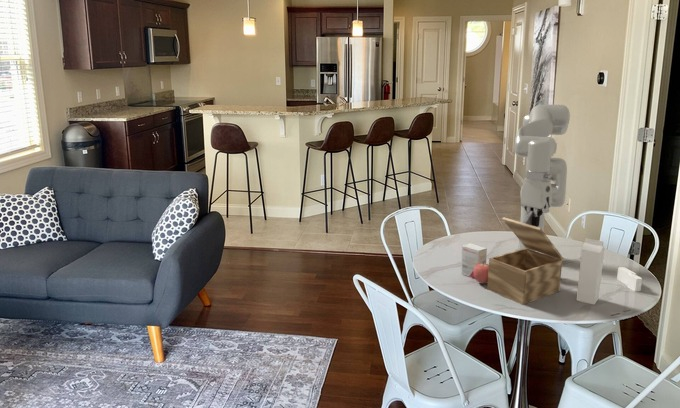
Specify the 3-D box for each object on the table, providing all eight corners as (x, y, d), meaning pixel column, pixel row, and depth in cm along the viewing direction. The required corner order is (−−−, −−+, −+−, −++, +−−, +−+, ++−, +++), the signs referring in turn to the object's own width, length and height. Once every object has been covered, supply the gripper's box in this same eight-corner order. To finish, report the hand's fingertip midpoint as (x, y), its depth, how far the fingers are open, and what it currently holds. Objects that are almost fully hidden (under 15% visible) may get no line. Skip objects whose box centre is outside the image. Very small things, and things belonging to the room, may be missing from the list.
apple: (472, 285, 212) (474, 265, 209) (472, 278, 218) (473, 258, 216) (493, 287, 210) (494, 266, 208) (492, 279, 217) (493, 259, 215)
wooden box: (523, 277, 219) (525, 248, 216) (559, 291, 206) (562, 260, 203) (487, 289, 209) (489, 258, 206) (522, 304, 196) (525, 271, 193)
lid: (525, 247, 216) (535, 233, 217) (562, 259, 203) (571, 244, 204) (502, 218, 205) (512, 203, 206) (539, 229, 192) (549, 213, 193)
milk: (580, 295, 203) (587, 236, 198) (598, 299, 200) (605, 239, 194) (576, 300, 199) (582, 240, 193) (594, 305, 195) (601, 243, 190)
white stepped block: (611, 277, 220) (613, 263, 219) (644, 282, 215) (646, 268, 214) (610, 291, 207) (611, 276, 206) (645, 297, 202) (647, 282, 201)
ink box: (486, 277, 220) (488, 248, 217) (478, 280, 217) (479, 251, 214) (468, 270, 226) (470, 242, 223) (460, 273, 223) (461, 245, 220)
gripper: (563, 178, 194) (558, 229, 198) (526, 170, 206) (522, 219, 211) (548, 180, 190) (544, 233, 195) (512, 173, 202) (508, 222, 207)
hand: (533, 225), depth 203 cm, fingers closed
